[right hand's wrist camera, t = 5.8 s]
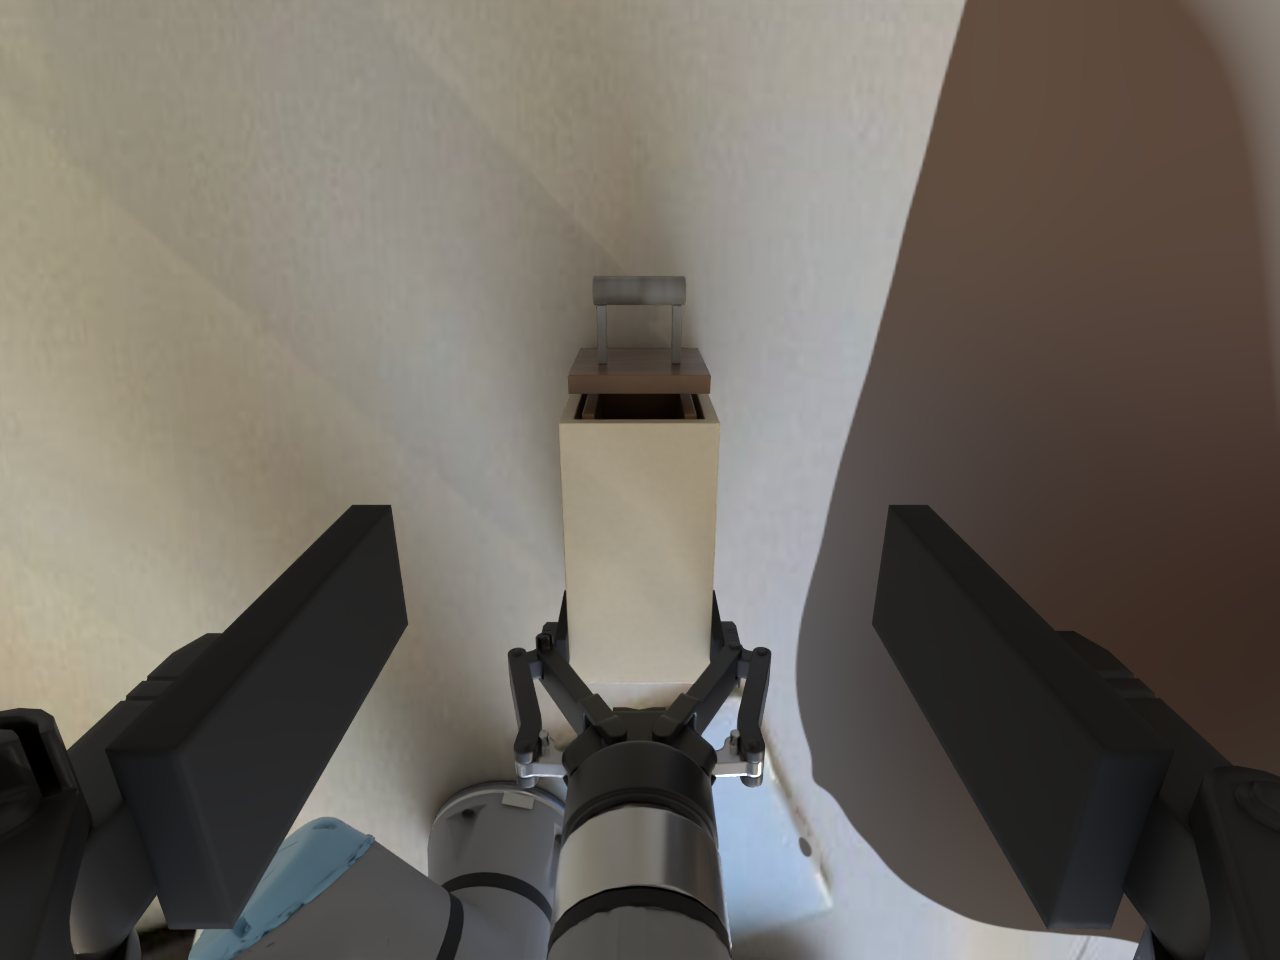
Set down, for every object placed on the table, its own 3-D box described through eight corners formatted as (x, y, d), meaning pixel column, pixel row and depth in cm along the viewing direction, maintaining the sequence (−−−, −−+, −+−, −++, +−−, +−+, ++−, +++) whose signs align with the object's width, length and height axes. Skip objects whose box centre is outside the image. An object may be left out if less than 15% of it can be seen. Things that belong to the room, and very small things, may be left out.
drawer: (578, 270, 49) (564, 281, 40) (700, 270, 49) (714, 281, 40) (587, 565, 57) (577, 629, 48) (691, 565, 57) (701, 629, 48)
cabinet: (575, 382, 52) (558, 423, 42) (703, 382, 52) (720, 423, 42) (582, 600, 59) (570, 683, 49) (696, 600, 59) (708, 683, 49)
